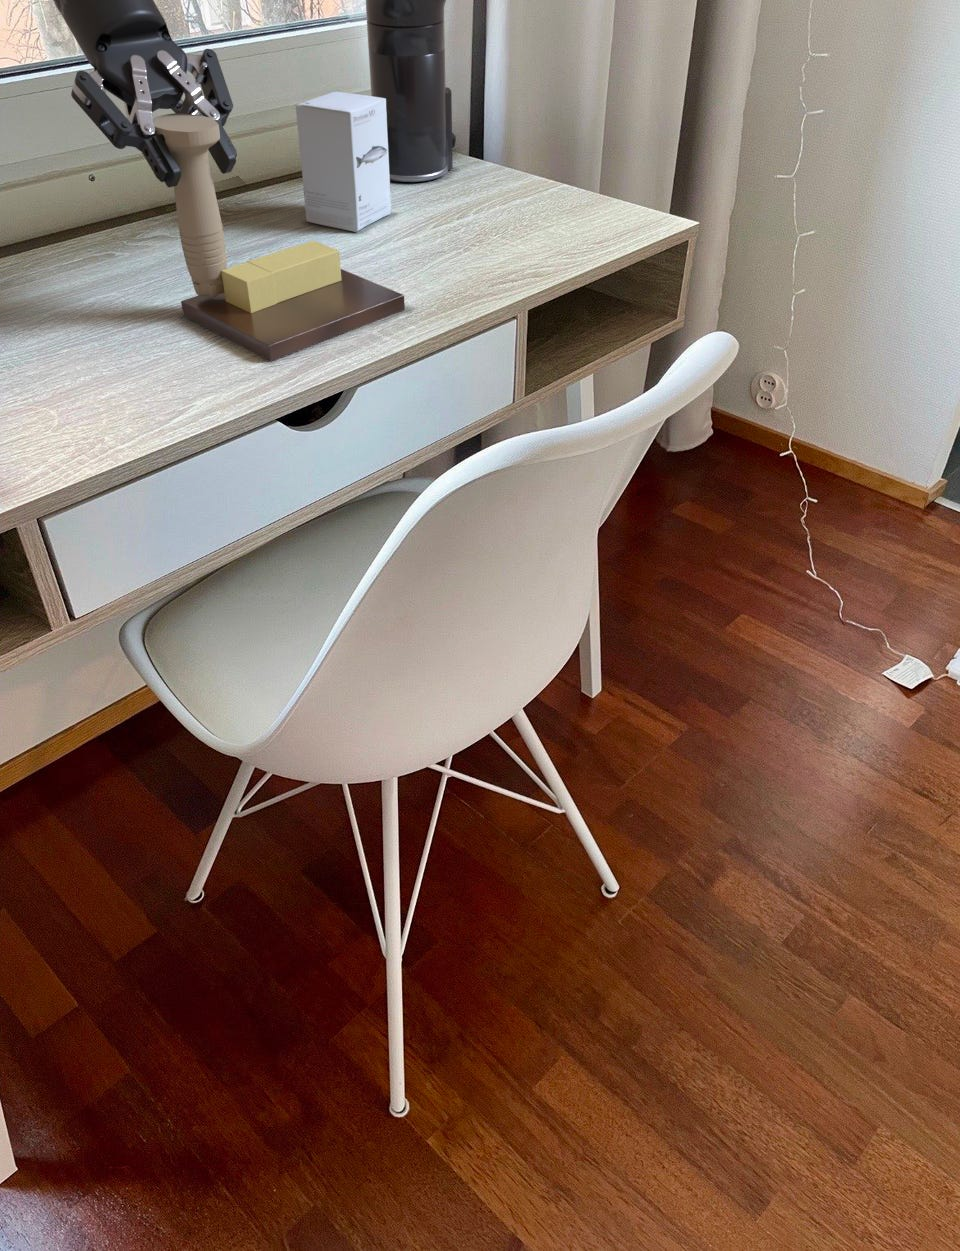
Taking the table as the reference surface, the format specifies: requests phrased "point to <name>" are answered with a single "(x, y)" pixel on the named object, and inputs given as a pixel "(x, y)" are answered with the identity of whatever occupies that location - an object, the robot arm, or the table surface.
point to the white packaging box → (344, 159)
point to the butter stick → (301, 269)
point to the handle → (196, 198)
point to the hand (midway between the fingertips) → (203, 173)
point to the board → (297, 316)
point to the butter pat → (249, 287)
